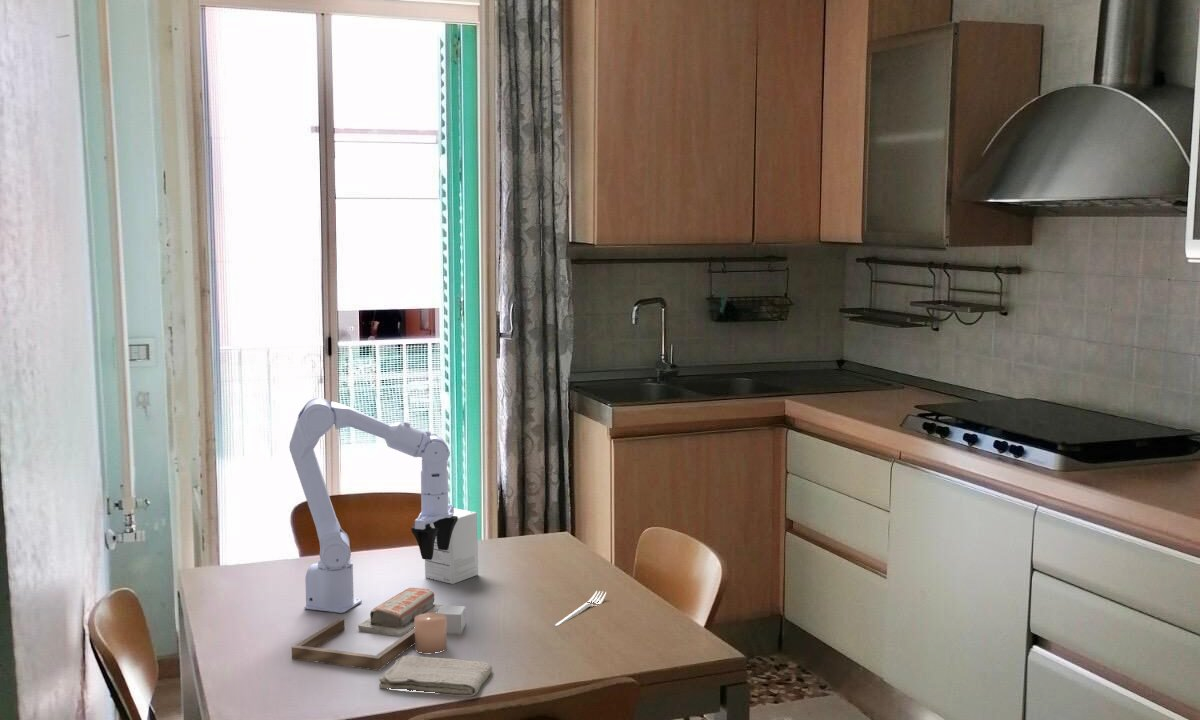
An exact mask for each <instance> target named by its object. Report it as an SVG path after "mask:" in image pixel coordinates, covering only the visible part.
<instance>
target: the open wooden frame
mask: <svg viewBox="0 0 1200 720" xmlns="http://www.w3.org/2000/svg"><path fill="white" fill-rule="evenodd" d="M345 629H346V628H345V619H344V618H338V619H335V620H334V621H332V622H331V623H329V624H328V625H326V626H325V627H322V628H321V629H320V630H318V631H317V632H314V633H313V634H311V635H309V636H308V637H306V638H304V639H303V640H301V641H300V642H298V643H296V644H294V645H293V646H291V660H297V659H299V660H300V661H305V660H309V661H308V662H312V661H318V662H317V663H320V662H324V663H323V664H328V663H331V664H330V665H335V664H338V665H337V666H343V665H345V666H344V667H350V666H354V667H353V668H358V667H361V668H360V669H365V668H369V669H368V670H373V669H377V670H376V671H379V669H380V670H381V669H382V668H384V667H385V666H386V665H387V663H388V662H389V663H391V662H392V661H393V660H395V659H396V658H397V657H398V655H399V654H400V655H401V654H402V652H403V651H404V652H406V651H407V650H408V649H409V647H410V646H411V645H412V646H413V644H414V643H415V628H413V629H411V630H410V631H409V632H408V633H406V634H405V635H403V636H400V638H399V639H397V640H395V641H394V642H393V643H391V644H389V646H387V647H385V648H384V649H383V650H381V651H380V652H378V653H377V654H376V655H375V654H368V653H360V652H350V651H346V650H345V651H344V650H338V649H337V650H336V649H329V648H320V647H319V645H320V646H322V645H323V644H325V643H326V642H327V640H328V641H329V640H331V639H332V638H334V637H336V636H337V635H339V634H340V633H342V632H344V631H345ZM324 642H325V643H324ZM322 643H323V644H322ZM414 645H415V644H414ZM412 646H411V647H412ZM316 647H317V648H316ZM411 647H410V648H411ZM407 648H408V649H407ZM406 649H407V650H406ZM404 652H403V653H404ZM400 655H399V656H400ZM395 657H396V658H395ZM394 658H395V659H394ZM390 661H391V662H390ZM389 663H388V664H389ZM384 665H385V666H384ZM383 666H384V667H383Z"/></svg>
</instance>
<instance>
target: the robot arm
mask: <svg viewBox="0 0 1200 720" xmlns="http://www.w3.org/2000/svg"><path fill="white" fill-rule="evenodd" d="M333 425H334V427H335V430H340V429H344V428H347V427H348V428H353V429H356V430H357V431H358V430H359V431H361V432H364V433H366V434H370V435H372V436H375V437H379V438H381V439H384V440H385V443H386V445H387V447H388V448H389V449H393V450H395V451H398V452H400V453H403V454H405V455H408V456H410V457H413V458H421V471H420V491H421V492H420V500H421V501H420V503H421V505H420V506H421V510H420V513H419V515H418V516H417V518H416V519H414V525H412V526H411V527H410V528H411V529H410V531H411V533H412V535H413V536H414V537H415V540H416V542H417V544H418V547H419V552H420V556H421V559H422V560H425V559H427V560H431V559H432V558H433V552H434V542H435V538H437V546H438V550H448V548H449V544H450V539H451V535H452V532H453V529H454V526H455V524H456V522H457V521H458V517H457V516H453V514H454V508H455V506H454V505H453V504H449V471H448V460H449V457H450V455H451V453H450V451H449V447H448V445H447V443H446V442H445V440H444V439H443V438H442V437H440V436H439V435H438V434H436V433H432V432H431V431H429V430H426V431H423V430H420V429H417V428H415V427H413V426H411V422H409V421H406V420H404V422H401V421H397V422H394V423H391V424H389V423H387V422H385V421H382V420H379V419H378V418H375V417H373V416H370V415H368V414H366V413H364V412H362V411H360V410H357V409H355V408H353V407H350V406H347V405H345V404H342V403H339V402H336V401H331V402H330V401H329V400H327V399H325V398H323V397H314V398H311V399H309V400H308V401H307V402H306V403H305V405H304V406H303V408H302V409H301V411H299V412H298V416H297V420H296V423H295V425H294V428H293V432H292V434H291V435H292V436H291V437H290V441H289V447H288V449H289V452H290V455H291V459H292V461H293V464H294V467H295V470H296V473H297V476H298V478H299V479H298V480H299V481H300V484H301V488H302V490H303V493H304V496H305V499H306V502H307V506H308V508H309V511H310V514H311V517H312V519H313V523H314V525H315V529H316V533H317V538H318V541H319V548H320V549H319V550H320V551H319V558H320V560H319V561H318V562H315V563H312V564H310V565H309V566H308V569H307V570H306V574H305V605H304V606H303V609H305V610H314V611H323V612H330V613H338V614H339V613H340V614H343V613H346V612H347V611H349V610H351V609H352V608H354V607H356V606H357V605H359V604H360V603H362V602H363V601H362V600H363V599H359V598H355V597H354V562H353V560H352V559H351V556H352V551H351V550H352V549H351V548H350V544H351V543H350V542H351V541H350V537H349V535H348V534H347V532H345V531H344V530H343V529H342V527H341V524H340V522H339V520H338V518H337V514H336V512H335V509H334V506H333V504H332V501H331V498H330V494H329V491H328V489H327V486H326V482H325V479H324V476H323V473H322V471H321V466H320V465H319V462H318V459H317V456H316V452H315V450H314V449H315V448H316V446H317V444H318V442H319V440H320V439H321V438H322V437H323V436H324V435H325V434H326V433H327V432H329V431H330V430H331V428H332V427H333ZM432 523H433V524H434V527H435V528H432V527H430V524H432Z"/></svg>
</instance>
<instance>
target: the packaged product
mask: <svg viewBox="0 0 1200 720" xmlns="http://www.w3.org/2000/svg"><path fill="white" fill-rule="evenodd" d="M440 606H444V605H443V604H442V605H441V604H436V603H435V592H434V591H432V590H430V589H429V588H420V587H408V588H406V589H404V590H403V591H401V592H399V593H397V594H396V595H394V596H392V597H391V598H389V599H387V600H386V601H384V602H382V603H381V604H380V605H378V606H375V607H374V608H373V609H371V610H370V614H369V618H368V619H366V620H364V621H362V622H361V623H359V624H358V625H357V627H358V631H359V632H364V631H365V633H371V632H372V634H378V633H380V634H379V635H386V634H387V635H388V636H393V635H396V636H395V637H402V636H404V634H407V632H410V631H411V630H412V629H414V627H415V623H414V618H415V617H416V616H418V615H420V614H424V613H436V612H437V611H438V610H439V608H440Z"/></svg>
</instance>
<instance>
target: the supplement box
mask: <svg viewBox="0 0 1200 720" xmlns="http://www.w3.org/2000/svg"><path fill="white" fill-rule="evenodd" d="M453 516H457V517H458V521H457V522H456V524H455V526H454V529H453V532H452V535H451V539H450V544H449V548H448V550H438V546H437V538H435V542H434V552H433V558H432V559H431V560H427V559H424V577H426V579H429V578H430V579H431V580H433V579H434V581H438V582H442V583H446V584H447V583H448V584H451V585H455V584H457V583H459V582H461V581H462V582H463V581H465V580H467V579H470V578H473V577H475V576H478V575H479V546H478V545H479V543H478V541H479V540H478V539H479V538H478V512H476V511H472V510H471V511H470V510H465V509H461V508H457V507H454V514H453ZM430 527H432V528H435V527H434V524H433V523H432V524H430Z"/></svg>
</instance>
